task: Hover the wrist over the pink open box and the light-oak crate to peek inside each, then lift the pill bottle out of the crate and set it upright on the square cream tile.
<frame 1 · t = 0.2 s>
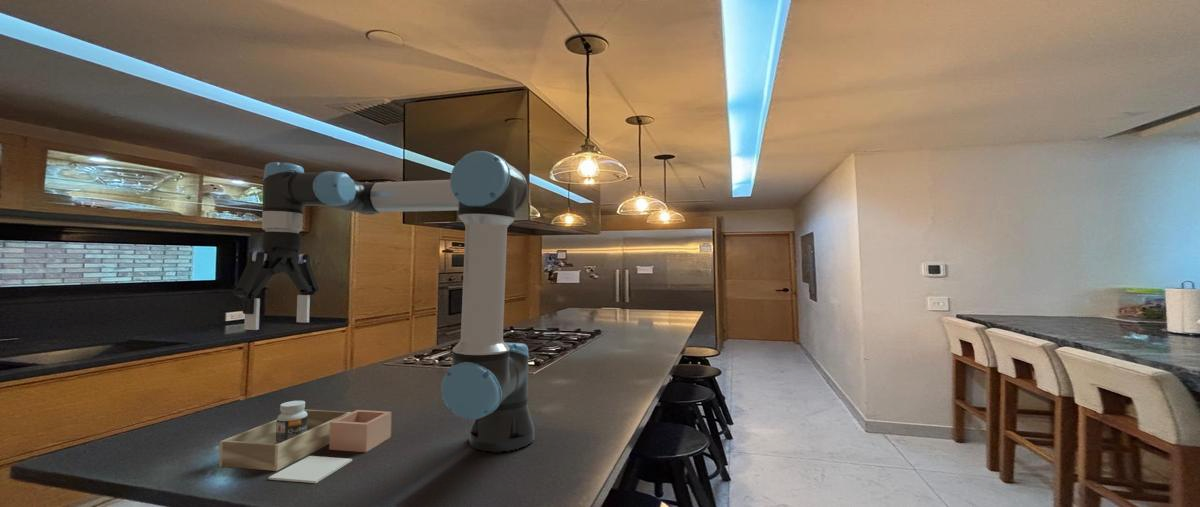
hand: (278, 325, 100), 27 cm above the countertop, fingers open, 13 cm apart
pill bottle: (291, 448, 100), resting in oak crate
oak crate: (291, 447, 100), on the countertop
pink open box: (361, 443, 103), on the countertop
square cream tile: (312, 469, 89), on the countertop
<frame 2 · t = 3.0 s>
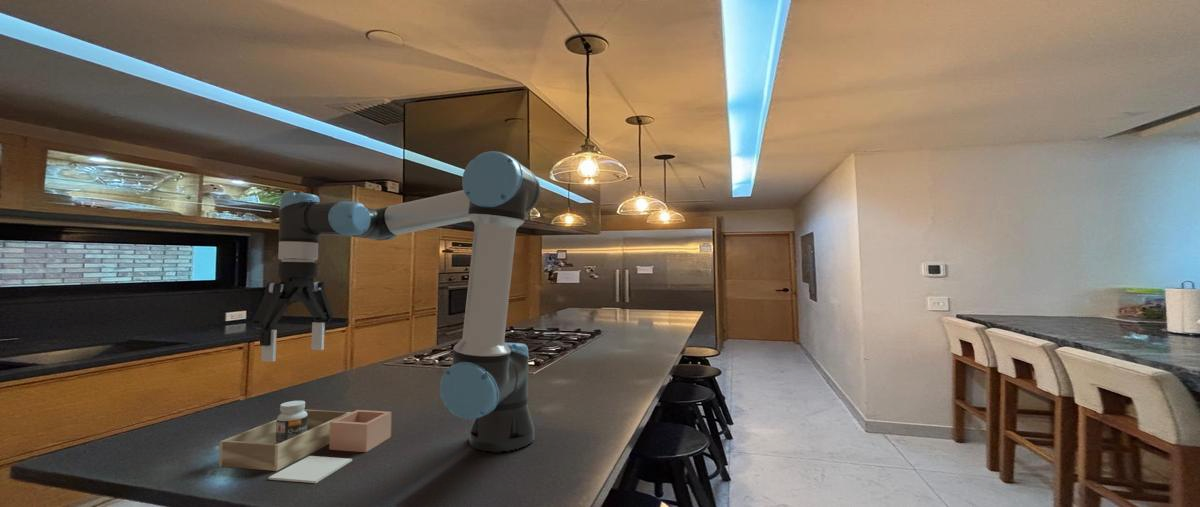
hand: (294, 355, 101), 21 cm above the countertop, fingers open, 13 cm apart
nothing on the countertop moved.
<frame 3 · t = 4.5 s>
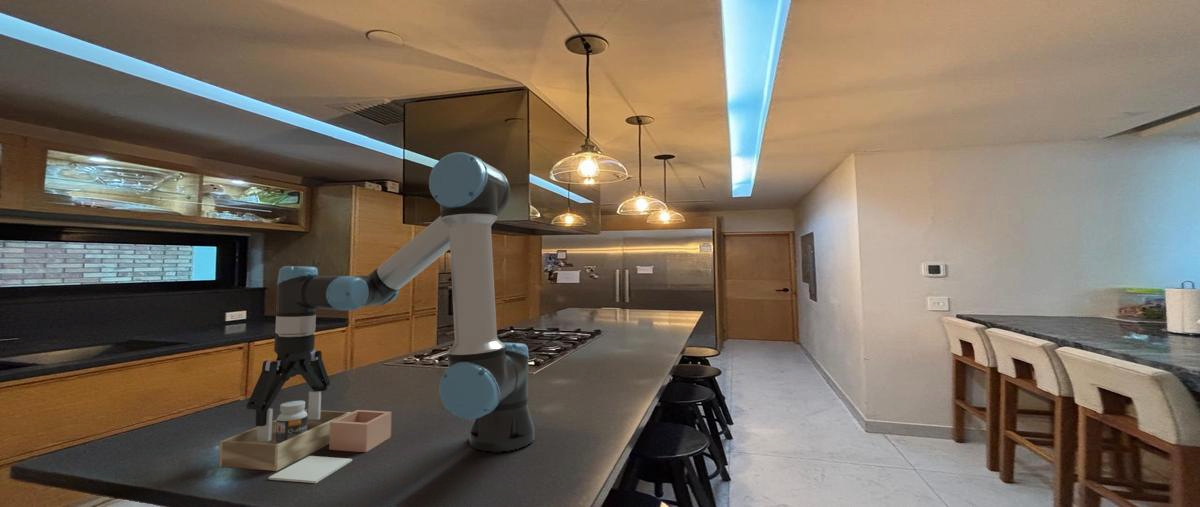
hand: (290, 429, 100), 4 cm above the countertop, fingers open, 13 cm apart
nothing on the countertop moved.
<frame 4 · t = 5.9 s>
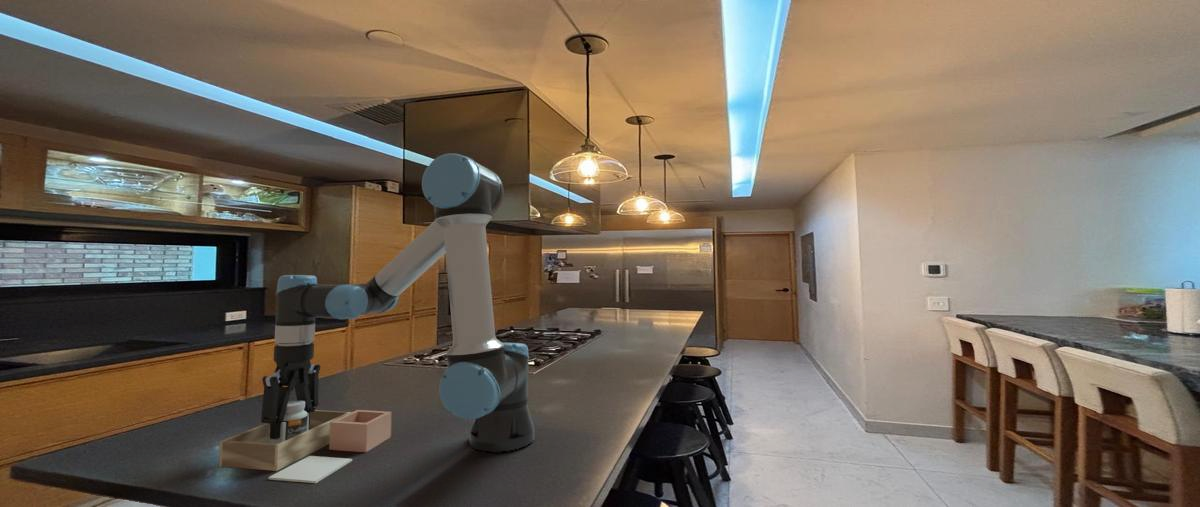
hand: (289, 446, 100), 0 cm above the countertop, fingers closed on pill bottle, 6 cm apart
pill bottle: (291, 448, 100), resting in oak crate, touching gripper
everything else where it was.
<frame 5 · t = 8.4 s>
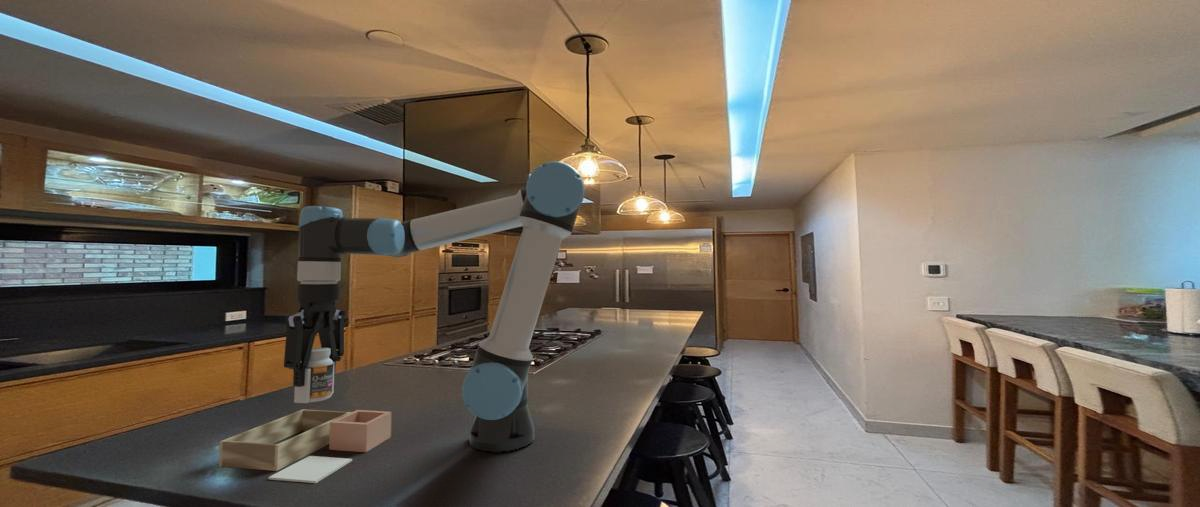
hand: (314, 397, 90), 14 cm above the countertop, fingers closed on pill bottle, 6 cm apart
pill bottle: (315, 399, 90), point 14 cm above the countertop, touching gripper
everything else where it was.
when the fingers open (2 cm above the countertop, at t = 10.8 s): pill bottle drops 1 cm, resting on square cream tile.
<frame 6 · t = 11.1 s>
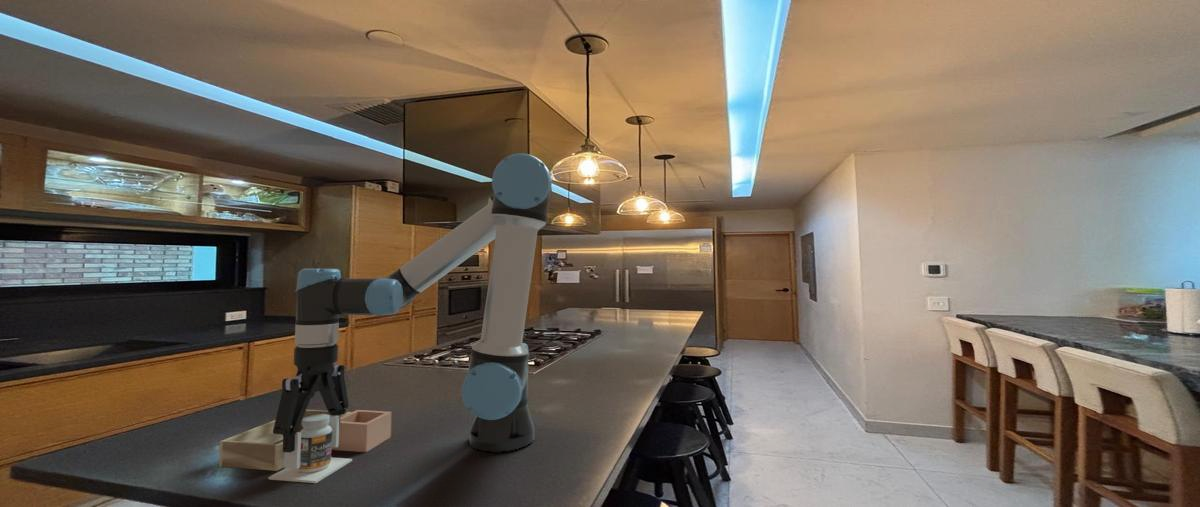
hand: (312, 456, 89), 3 cm above the countertop, fingers open, 9 cm apart
pill bottle: (314, 468, 89), resting on square cream tile
everything else where it was.
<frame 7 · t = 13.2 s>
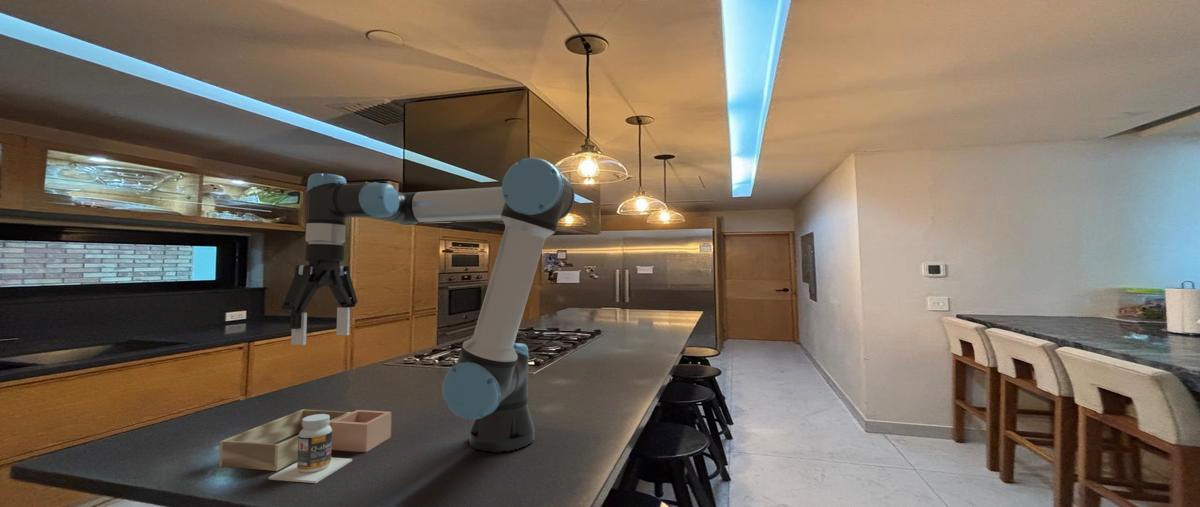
hand: (322, 339, 99), 25 cm above the countertop, fingers open, 13 cm apart
nothing on the countertop moved.
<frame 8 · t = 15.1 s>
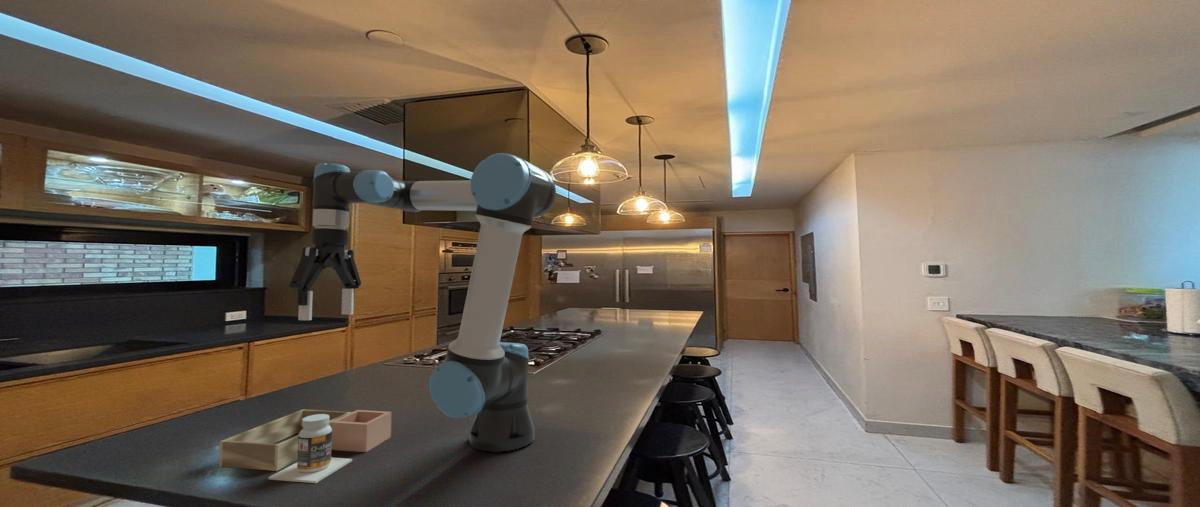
hand: (327, 317, 106), 29 cm above the countertop, fingers open, 13 cm apart
nothing on the countertop moved.
at the end: pill bottle inside the target area on the square cream tile (0.3 cm from its centre), point 0.2 cm above the square cream tile's base; pill bottle tilted 0°; the gripper is holding nothing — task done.
